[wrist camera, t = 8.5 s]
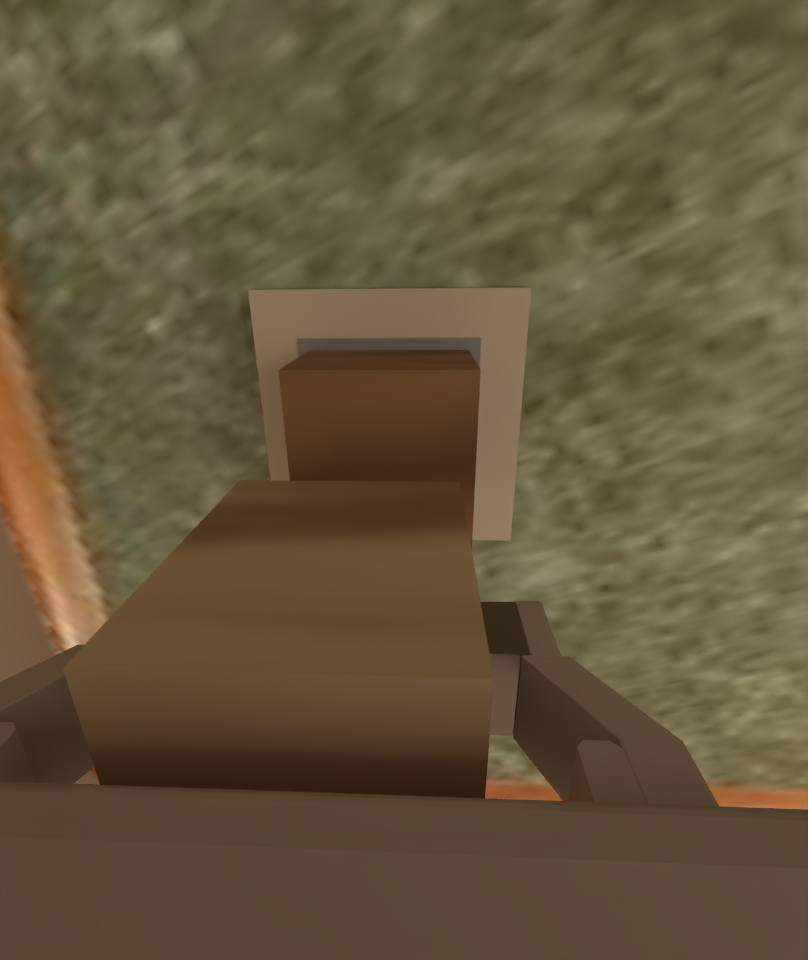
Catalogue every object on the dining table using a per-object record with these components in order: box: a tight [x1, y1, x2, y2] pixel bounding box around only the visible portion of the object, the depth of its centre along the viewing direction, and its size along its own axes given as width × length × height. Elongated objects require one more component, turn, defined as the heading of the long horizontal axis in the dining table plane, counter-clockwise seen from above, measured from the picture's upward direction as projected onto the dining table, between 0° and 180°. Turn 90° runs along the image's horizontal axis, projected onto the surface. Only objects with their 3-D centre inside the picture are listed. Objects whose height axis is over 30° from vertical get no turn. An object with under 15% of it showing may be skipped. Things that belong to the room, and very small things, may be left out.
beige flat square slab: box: [248, 287, 531, 541], centre depth 24 cm, size 12×12×1 cm
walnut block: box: [278, 350, 481, 549], centre depth 21 cm, size 7×7×5 cm
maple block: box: [63, 480, 494, 799], centre depth 9 cm, size 5×5×6 cm
